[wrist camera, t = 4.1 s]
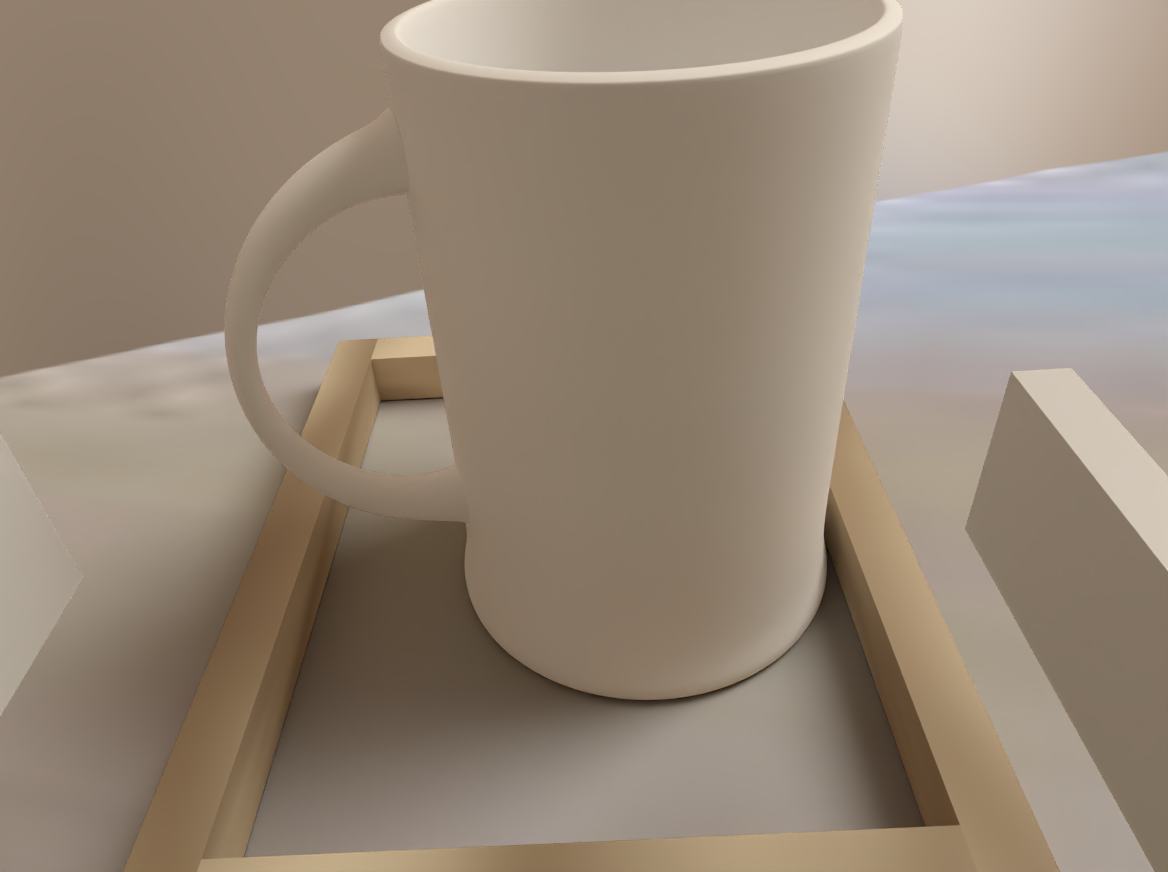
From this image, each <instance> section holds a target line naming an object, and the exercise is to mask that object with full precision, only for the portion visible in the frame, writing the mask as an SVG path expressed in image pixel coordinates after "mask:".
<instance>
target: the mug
mask: <svg viewBox="0 0 1168 872" xmlns="http://www.w3.org/2000/svg"><path fill="white" fill-rule="evenodd" d="M902 26H903V11H902V8H901V6H900V5H899V4H898V3H897V2H896V1H895V0H431V1H428V2H426V3H423V4H421V5H418V6H416V7H414V8H412V9H409V10H408V11H406V12H404V13H402V14H400V15H398V16H397V17H395V18H394V19H392V20H391V21H390V22H388V23H387V24H386V25H385V27H384V28H383V29H382V31H381V34H380V48H381V54H382V61H383V66H384V72H385V78H386V83H387V89H388V94H389V100H390V105H391V108H389V107H388V108H386V109H385V110H384V112H383V113H382V114H381V115H380V116H379V117H378V118H377V119H376V120H374V121H373V122H371V123H370V124H368V125H366V126H365V127H363V128H361V129H359V130H357V131H356V132H354V133H352V134H350V135H348V136H346V137H345V138H343V139H341V140H339V141H338V142H336V143H334V144H333V145H331V146H330V147H328V148H327V149H325V150H324V151H322V152H321V153H319V154H318V155H317V156H315V157H314V158H313V159H311V160H310V161H309V162H308V163H306V164H305V165H304V166H303V167H302V168H300V169H299V170H298V171H297V172H296V173H295V174H294V175H293V176H292V177H291V178H290V179H289V180H288V181H287V182H286V183H285V184H284V185H283V186H282V187H281V188H280V189H279V190H278V192H277V193H276V194H275V195H274V196H273V198H272V199H271V200H270V201H269V203H268V204H267V205H266V207H265V208H264V209H263V211H262V212H261V214H260V215H259V217H258V218H257V220H256V222H255V223H254V225H253V227H252V228H251V230H250V232H249V234H248V236H247V238H246V240H245V242H244V244H243V246H242V248H241V251H240V253H239V256H238V258H237V261H236V264H235V267H234V270H233V274H232V277H231V281H230V285H229V290H228V295H227V301H226V310H225V347H226V355H227V362H228V367H229V372H230V376H231V379H232V383H233V386H234V389H235V392H236V395H237V398H238V400H239V403H240V405H241V407H242V409H243V411H244V413H245V415H246V417H247V419H248V421H249V423H250V424H251V426H252V428H253V429H254V431H255V432H256V434H257V435H258V437H259V438H260V439H261V441H262V442H263V443H264V445H265V446H266V447H267V448H268V450H269V451H270V452H271V453H272V454H273V455H274V456H275V457H276V459H277V460H278V461H279V462H280V463H281V464H283V465H284V466H285V467H286V468H287V469H288V470H289V471H290V472H292V473H293V474H294V475H295V476H296V477H298V478H299V479H300V480H302V481H303V482H305V483H306V484H308V485H309V486H311V487H312V488H314V489H315V490H317V491H319V492H320V493H322V494H324V495H326V496H328V497H330V498H332V499H334V500H336V501H338V502H341V503H343V504H345V505H348V506H351V507H353V508H356V509H359V510H362V511H366V512H369V513H373V514H377V515H381V516H386V517H392V518H398V519H407V520H420V521H457V522H465V523H466V530H467V542H466V548H465V561H464V567H465V579H466V585H467V589H468V593H469V596H470V599H471V602H472V605H473V607H474V609H475V611H476V613H477V615H478V617H479V619H480V621H481V622H482V624H483V625H484V627H485V628H486V630H487V631H488V632H489V633H490V635H491V636H492V637H493V638H494V639H495V641H496V642H497V643H498V644H499V645H500V646H501V647H502V648H503V649H504V650H505V651H507V652H508V653H509V654H510V655H511V656H513V657H514V658H515V659H516V660H518V661H519V662H521V663H522V664H523V665H525V666H526V667H528V668H530V669H531V670H533V671H535V672H536V673H538V674H540V675H542V676H544V677H546V678H548V679H550V680H552V681H555V682H557V683H559V684H562V685H565V686H567V687H570V688H573V689H576V690H580V691H583V692H587V693H591V694H596V695H601V696H606V697H613V698H621V699H633V700H661V699H673V698H681V697H688V696H693V695H698V694H702V693H707V692H710V691H714V690H717V689H720V688H723V687H726V686H729V685H732V684H734V683H736V682H739V681H741V680H743V679H745V678H747V677H749V676H751V675H753V674H755V673H757V672H759V671H760V670H762V669H764V668H765V667H767V666H768V665H770V664H771V663H773V662H774V661H775V660H777V659H778V658H779V657H781V656H782V655H783V654H784V653H785V652H786V651H788V650H789V649H790V648H791V647H792V646H793V645H794V644H795V643H796V641H797V640H798V639H799V638H800V637H801V636H802V634H803V633H804V632H805V630H806V629H807V628H808V626H809V625H810V623H811V621H812V620H813V618H814V616H815V614H816V612H817V610H818V608H819V605H820V603H821V600H822V597H823V593H824V589H825V584H826V577H827V553H826V546H825V541H824V523H825V515H826V507H827V500H828V493H829V487H830V480H831V474H832V467H833V461H834V455H835V448H836V442H837V436H838V430H839V423H840V417H841V411H842V405H843V398H844V392H845V386H846V380H847V373H848V367H849V361H850V354H851V348H852V342H853V336H854V329H855V323H856V317H857V311H858V304H859V298H860V292H861V286H862V279H863V273H864V267H865V261H866V254H867V248H868V242H869V236H870V229H871V223H872V217H873V211H874V204H875V198H876V191H877V186H878V179H879V173H880V167H881V160H882V154H883V148H884V142H885V135H886V129H887V123H888V117H889V110H890V104H891V98H892V91H893V85H894V79H895V73H896V66H897V60H898V54H899V47H900V41H901V33H902ZM405 194H407V199H408V204H409V209H410V215H411V221H412V226H413V232H414V237H415V243H416V248H417V253H418V259H419V265H420V270H421V276H422V281H423V287H424V293H425V298H426V304H427V309H428V315H429V320H430V326H431V331H432V337H433V342H434V348H435V353H436V359H437V364H438V370H439V375H440V381H441V386H442V392H443V397H444V403H445V408H446V414H447V419H448V425H449V430H450V436H451V441H452V447H453V452H454V458H455V463H456V466H453V467H450V468H446V469H443V470H440V471H436V472H432V473H427V474H420V475H395V474H386V473H379V472H374V471H369V470H365V469H362V468H358V467H355V466H352V465H349V464H347V463H344V462H342V461H339V460H337V459H335V458H333V457H331V456H329V455H327V454H325V453H324V452H322V451H320V450H319V449H317V448H316V447H314V446H313V445H311V444H310V443H308V442H307V441H306V440H305V439H303V438H302V437H301V436H300V435H299V434H298V433H297V432H296V431H295V430H294V429H293V428H292V427H291V426H290V425H289V424H288V423H287V422H286V421H285V420H284V418H283V417H282V416H281V414H280V413H279V412H278V410H277V409H276V407H275V406H274V404H273V402H272V401H271V399H270V397H269V395H268V393H267V391H266V388H265V386H264V383H263V380H262V377H261V374H260V370H259V365H258V359H257V328H258V322H259V317H260V313H261V309H262V306H263V302H264V300H265V297H266V294H267V292H268V290H269V287H270V286H271V283H272V282H273V280H274V278H275V276H276V274H277V273H278V271H279V270H280V268H281V267H282V265H283V264H284V262H285V261H286V260H287V258H288V257H289V256H290V255H291V253H292V252H293V251H294V250H295V249H296V248H297V247H298V246H299V245H300V244H301V243H302V242H303V241H304V240H305V239H306V238H307V237H308V236H309V235H310V234H311V233H313V232H314V231H315V230H316V229H318V228H319V227H320V226H321V225H323V224H324V223H326V222H327V221H329V220H330V219H332V218H333V217H335V216H337V215H338V214H340V213H342V212H344V211H346V210H348V209H350V208H352V207H354V206H357V205H360V204H362V203H365V202H369V201H372V200H377V199H381V198H386V197H392V196H398V195H405Z"/></svg>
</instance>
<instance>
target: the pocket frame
mask: <svg viewBox="0 0 1168 872" xmlns="http://www.w3.org/2000/svg"><path fill="white" fill-rule="evenodd" d="M436 397H443V392H442V386H441V381H440V375H439V370H438V364H437V359H436V353H435V348H434V342H433V337H432V336H418V337H400V338H381V339H363V340H345V341H339V343H338V346H337V348H336V351H335V353H334V355H333V358H332V360H331V363H330V365H329V368H328V370H327V373H326V375H325V377H324V380H323V382H322V385H321V387H320V390H319V392H318V395H317V397H316V400H315V402H314V404H313V407H312V409H311V412H310V414H309V417H308V419H307V422H306V424H305V427H304V429H303V431H302V434H301V437H302V438H303V439H305V440H306V441H307V442H308V443H310V444H311V445H313V446H314V447H316V448H317V449H319V450H320V451H322V452H324V453H325V454H327V455H329V456H331V457H333V458H335V459H337V460H339V461H342V462H344V463H347V464H349V465H352V466H355V467H358V468H361V464H362V461H363V458H364V454H365V451H366V448H367V444H368V441H369V438H370V434H371V431H372V428H373V424H374V421H375V418H376V414H377V411H378V408H379V404H380V401H381V400H398V399H417V398H436ZM348 508H349V506H348V505H345V504H343V503H341V502H338V501H336V500H334V499H332V498H330V497H328V496H326V495H324V494H322V493H320V492H319V491H317V490H315V489H314V488H312V487H311V486H309V485H308V484H306V483H305V482H303V481H302V480H300V479H299V478H298V477H296V476H295V475H294V474H293V473H292V472H290V471H289V470H288V469H287V471H286V473H285V476H284V478H283V480H282V483H281V485H280V488H279V490H278V493H277V495H276V498H275V500H274V502H273V505H272V507H271V510H270V512H269V515H268V517H267V520H266V522H265V525H264V527H263V529H262V532H261V534H260V537H259V539H258V542H257V544H256V547H255V549H254V552H253V554H252V556H251V559H250V561H249V564H248V566H247V569H246V571H245V574H244V576H243V578H242V581H241V583H240V586H239V588H238V591H237V593H236V596H235V598H234V601H233V603H232V605H231V608H230V610H229V613H228V615H227V618H226V620H225V623H224V625H223V628H222V630H221V632H220V635H219V637H218V640H217V642H216V645H215V647H214V650H213V652H212V654H211V657H210V659H209V662H208V664H207V667H206V669H205V672H204V674H203V677H202V679H201V681H200V684H199V686H198V689H197V691H196V694H195V696H194V699H193V701H192V703H191V706H190V708H189V711H188V713H187V716H186V718H185V721H184V723H183V726H182V728H181V730H180V733H179V735H178V738H177V740H176V743H175V745H174V748H173V750H172V753H171V755H170V757H169V760H168V762H167V765H166V767H165V770H164V772H163V775H162V777H161V779H160V782H159V784H158V787H157V789H156V792H155V794H154V797H153V799H152V802H151V804H150V806H149V809H148V811H147V814H146V816H145V819H144V821H143V824H142V826H141V829H140V831H139V833H138V836H137V838H136V841H135V843H134V846H133V848H132V851H131V853H130V855H129V858H128V860H127V863H126V865H125V868H124V870H123V872H1060V870H1059V868H1058V866H1057V864H1056V862H1055V860H1054V857H1053V855H1052V853H1051V851H1050V849H1049V847H1048V844H1047V842H1046V840H1045V838H1044V836H1043V833H1042V831H1041V829H1040V827H1039V825H1038V823H1037V820H1036V818H1035V816H1034V814H1033V812H1032V810H1031V807H1030V805H1029V803H1028V801H1027V799H1026V796H1025V794H1024V792H1023V790H1022V788H1021V786H1020V783H1019V781H1018V779H1017V777H1016V775H1015V772H1014V770H1013V768H1012V766H1011V764H1010V762H1009V759H1008V757H1007V755H1006V753H1005V751H1004V749H1003V746H1002V744H1001V742H1000V740H999V738H998V735H997V733H996V731H995V729H994V727H993V725H992V722H991V720H990V718H989V716H988V714H987V712H986V709H985V707H984V705H983V703H982V701H981V698H980V696H979V694H978V692H977V690H976V688H975V685H974V683H973V681H972V679H971V677H970V674H969V672H968V670H967V668H966V666H965V664H964V661H963V659H962V657H961V655H960V653H959V651H958V648H957V646H956V644H955V642H954V640H953V637H952V635H951V633H950V631H949V629H948V627H947V624H946V622H945V620H944V618H943V616H942V614H941V611H940V609H939V607H938V605H937V603H936V600H935V598H934V596H933V594H932V592H931V590H930V587H929V585H928V583H927V581H926V579H925V576H924V574H923V572H922V570H921V568H920V566H919V563H918V561H917V559H916V557H915V555H914V553H913V550H912V548H911V546H910V544H909V542H908V539H907V537H906V535H905V533H904V531H903V529H902V526H901V524H900V522H899V520H898V518H897V516H896V513H895V511H894V509H893V507H892V505H891V502H890V500H889V498H888V496H887V494H886V492H885V489H884V487H883V485H882V483H881V481H880V478H879V476H878V474H877V472H876V470H875V468H874V465H873V463H872V461H871V459H870V457H869V455H868V452H867V450H866V448H865V446H864V444H863V441H862V439H861V437H860V435H859V433H858V431H857V428H856V426H855V424H854V422H853V420H852V418H851V415H850V413H849V411H848V409H847V407H846V404H845V402H844V400H843V405H842V411H841V417H840V423H839V430H838V436H837V442H836V448H835V455H834V461H833V467H832V474H831V480H830V487H829V493H828V500H827V507H826V515H825V523H824V538H825V541H826V544H827V547H828V550H829V553H830V555H831V558H832V561H833V564H834V567H835V570H836V573H837V576H838V578H839V581H840V584H841V587H842V590H843V593H844V596H845V598H846V601H847V604H848V607H849V610H850V613H851V616H852V619H853V621H854V624H855V627H856V630H857V633H858V636H859V639H860V641H861V644H862V647H863V650H864V653H865V656H866V659H867V662H868V664H869V667H870V670H871V673H872V676H873V679H874V682H875V684H876V687H877V690H878V693H879V696H880V699H881V702H882V705H883V707H884V710H885V713H886V716H887V719H888V722H889V725H890V727H891V730H892V733H893V736H894V739H895V742H896V745H897V748H898V750H899V753H900V756H901V759H902V762H903V765H904V768H905V770H906V773H907V776H908V779H909V782H910V785H911V788H912V791H913V793H914V796H915V799H916V802H917V805H918V808H919V811H920V813H921V816H922V819H923V822H924V825H925V827H909V828H887V829H865V830H842V831H820V832H798V833H776V834H753V835H731V836H709V837H687V838H664V839H642V840H620V841H597V842H575V843H553V844H531V845H508V846H486V847H464V848H442V849H419V850H397V851H375V852H353V853H330V854H308V855H286V856H264V857H244V854H245V851H246V847H247V844H248V841H249V837H250V834H251V831H252V827H253V824H254V821H255V817H256V814H257V811H258V807H259V804H260V801H261V797H262V794H263V791H264V787H265V784H266V781H267V777H268V774H269V771H270V767H271V764H272V761H273V757H274V754H275V751H276V747H277V744H278V741H279V737H280V734H281V731H282V727H283V724H284V721H285V717H286V714H287V711H288V707H289V704H290V701H291V697H292V694H293V691H294V688H295V684H296V681H297V678H298V674H299V671H300V668H301V664H302V661H303V658H304V654H305V651H306V648H307V644H308V641H309V638H310V634H311V631H312V628H313V624H314V621H315V618H316V614H317V611H318V608H319V604H320V601H321V598H322V594H323V591H324V588H325V584H326V581H327V578H328V574H329V571H330V568H331V564H332V561H333V558H334V554H335V551H336V548H337V544H338V541H339V538H340V534H341V531H342V528H343V524H344V521H345V518H346V514H347V511H348Z"/></svg>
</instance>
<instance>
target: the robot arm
mask: <svg viewBox="0 0 1168 872" xmlns="http://www.w3.org/2000/svg"><path fill="white" fill-rule="evenodd" d="M965 529H966V531H967V533H968V535H969V537H970V538H971V540H972V542H973V544H974V546H975V548H976V549H977V551H978V553H979V555H980V557H981V558H982V560H983V562H984V564H985V566H986V567H987V569H988V571H989V573H990V575H991V576H992V578H993V580H994V582H995V584H996V585H997V587H998V589H999V591H1000V593H1001V595H1002V596H1003V598H1004V600H1005V602H1006V604H1007V605H1008V607H1009V609H1010V611H1011V613H1012V614H1013V616H1014V618H1015V620H1016V622H1017V623H1018V625H1019V627H1020V629H1021V631H1022V632H1023V634H1024V636H1025V638H1026V640H1027V642H1028V643H1029V645H1030V647H1031V649H1032V651H1033V652H1034V654H1035V656H1036V658H1037V660H1038V661H1039V663H1040V665H1041V667H1042V669H1043V670H1044V672H1045V674H1046V676H1047V678H1048V679H1049V681H1050V683H1051V685H1052V687H1053V689H1054V690H1055V692H1056V694H1057V696H1058V698H1059V699H1060V701H1061V703H1062V705H1063V707H1064V708H1065V710H1066V712H1067V714H1068V716H1069V717H1070V719H1071V721H1072V723H1073V725H1074V726H1075V728H1076V730H1077V732H1078V734H1079V736H1080V737H1081V739H1082V741H1083V743H1084V745H1085V746H1086V748H1087V750H1088V752H1089V754H1090V755H1091V757H1092V759H1093V761H1094V763H1095V764H1096V766H1097V768H1098V770H1099V772H1100V773H1101V775H1102V777H1103V779H1104V781H1105V783H1106V784H1107V786H1108V788H1109V790H1110V792H1111V793H1112V795H1113V797H1114V799H1115V801H1116V802H1117V804H1118V806H1119V808H1120V810H1121V811H1122V813H1123V815H1124V817H1125V819H1126V820H1127V822H1128V824H1129V826H1130V828H1131V830H1132V831H1133V833H1134V835H1135V837H1136V839H1137V840H1138V842H1139V844H1140V846H1141V848H1142V849H1143V851H1144V853H1145V855H1146V857H1147V858H1148V860H1149V862H1150V864H1151V866H1152V867H1153V869H1154V871H1155V872H1168V476H1167V475H1166V474H1165V472H1164V471H1163V470H1162V469H1161V468H1160V467H1159V466H1158V465H1157V463H1156V462H1155V461H1154V460H1153V459H1152V458H1151V457H1150V456H1149V455H1148V453H1147V452H1146V451H1145V450H1144V449H1143V448H1142V447H1141V446H1140V444H1139V443H1138V442H1137V441H1136V440H1135V439H1134V438H1133V437H1132V435H1131V434H1130V433H1129V432H1128V431H1127V430H1126V429H1125V428H1124V426H1123V425H1122V424H1121V423H1120V422H1119V421H1118V420H1117V419H1116V417H1115V416H1114V415H1113V414H1112V413H1111V412H1110V411H1109V410H1108V409H1107V407H1106V406H1105V405H1104V404H1103V403H1102V402H1101V401H1100V400H1099V398H1098V397H1097V396H1096V395H1095V394H1094V393H1093V392H1092V391H1091V389H1090V388H1089V387H1088V386H1087V385H1086V384H1085V383H1084V382H1083V380H1082V379H1081V378H1080V377H1079V376H1078V375H1077V374H1076V373H1075V371H1074V370H1073V369H1072V368H1064V369H1046V370H1029V371H1012V372H1011V375H1010V378H1009V382H1008V385H1007V388H1006V392H1005V395H1004V398H1003V402H1002V405H1001V409H1000V412H999V415H998V419H997V422H996V426H995V429H994V432H993V436H992V439H991V443H990V446H989V449H988V453H987V456H986V459H985V463H984V466H983V470H982V473H981V476H980V480H979V483H978V487H977V490H976V493H975V497H974V500H973V504H972V507H971V510H970V514H969V517H968V520H967V524H966V527H965ZM83 578H84V577H83V575H82V574H81V572H80V570H79V568H78V567H77V565H76V563H75V561H74V560H73V558H72V556H71V555H70V553H69V551H68V549H67V548H66V546H65V544H64V542H63V541H62V539H61V537H60V536H59V534H58V532H57V530H56V529H55V527H54V525H53V524H52V522H51V520H50V518H49V517H48V515H47V513H46V511H45V510H44V508H43V506H42V505H41V503H40V501H39V499H38V498H37V496H36V494H35V492H34V491H33V489H32V487H31V486H30V484H29V482H28V480H27V479H26V477H25V475H24V473H23V472H22V470H21V468H20V467H19V465H18V463H17V461H16V460H15V458H14V456H13V455H12V453H11V451H10V449H9V448H8V446H7V444H6V442H5V441H4V439H3V437H2V436H1V434H0V716H1V714H2V713H3V711H4V710H5V708H6V706H7V705H8V703H9V701H10V700H11V698H12V696H13V695H14V693H15V691H16V690H17V688H18V686H19V685H20V683H21V681H22V680H23V678H24V676H25V675H26V673H27V671H28V670H29V668H30V666H31V665H32V663H33V661H34V660H35V658H36V656H37V655H38V653H39V651H40V650H41V648H42V646H43V645H44V643H45V641H46V640H47V638H48V636H49V635H50V633H51V631H52V630H53V628H54V626H55V625H56V623H57V621H58V620H59V618H60V616H61V615H62V613H63V611H64V610H65V608H66V606H67V605H68V603H69V601H70V600H71V598H72V596H73V595H74V593H75V591H76V590H77V588H78V586H79V585H80V583H81V581H82V580H83Z"/></svg>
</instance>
